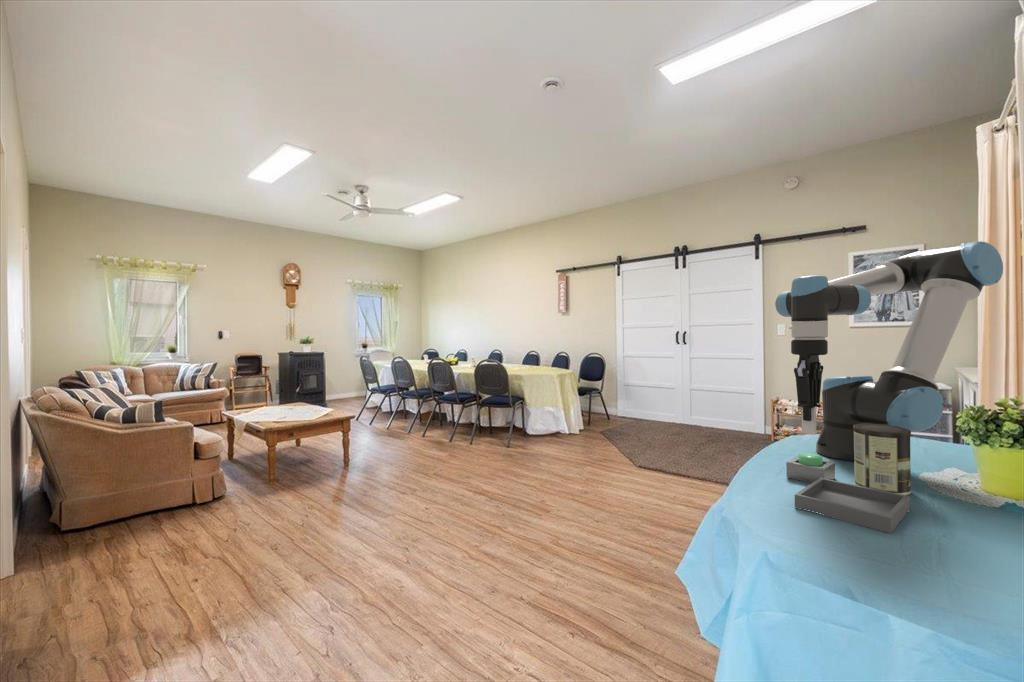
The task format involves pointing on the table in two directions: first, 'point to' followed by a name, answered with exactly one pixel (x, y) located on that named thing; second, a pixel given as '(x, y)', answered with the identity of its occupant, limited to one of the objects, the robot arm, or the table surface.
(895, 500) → the shallow gray tray
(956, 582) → the table surface
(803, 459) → the button
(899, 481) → the coffee can
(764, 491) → the table surface
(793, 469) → the button housing
